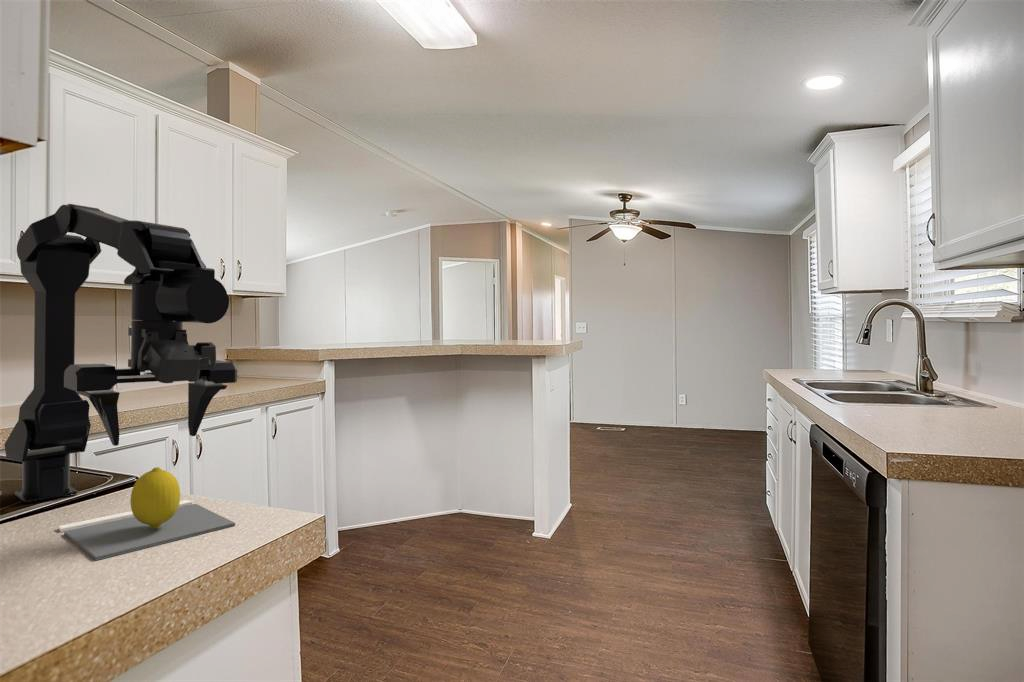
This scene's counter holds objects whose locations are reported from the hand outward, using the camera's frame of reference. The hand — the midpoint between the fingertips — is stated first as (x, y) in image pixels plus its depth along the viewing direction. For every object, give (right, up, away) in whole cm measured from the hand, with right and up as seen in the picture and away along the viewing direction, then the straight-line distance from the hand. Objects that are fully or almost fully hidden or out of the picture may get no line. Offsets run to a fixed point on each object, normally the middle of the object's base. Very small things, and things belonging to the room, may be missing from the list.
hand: (155, 440), depth 78 cm
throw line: (-7, -11, +5) cm, 14 cm away
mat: (0, -12, 0) cm, 12 cm away
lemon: (0, -12, -1) cm, 12 cm away
